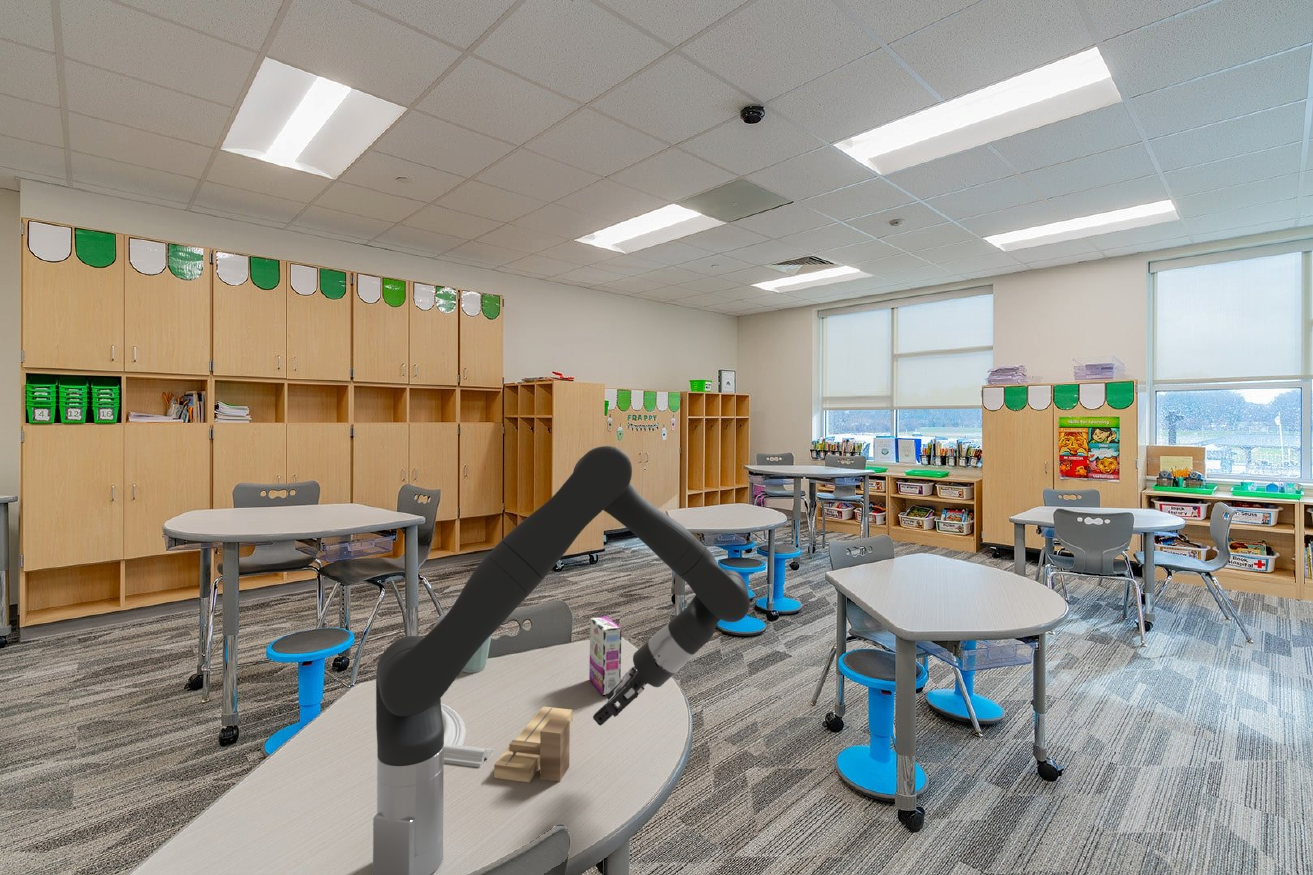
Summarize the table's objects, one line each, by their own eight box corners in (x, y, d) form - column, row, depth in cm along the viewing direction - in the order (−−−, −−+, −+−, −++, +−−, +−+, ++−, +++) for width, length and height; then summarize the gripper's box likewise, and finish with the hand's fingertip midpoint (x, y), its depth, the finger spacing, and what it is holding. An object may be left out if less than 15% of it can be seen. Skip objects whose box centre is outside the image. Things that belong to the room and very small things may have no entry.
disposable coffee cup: (481, 658, 169) (481, 605, 169) (501, 668, 162) (502, 614, 162) (446, 668, 161) (446, 613, 161) (466, 680, 154) (466, 622, 154)
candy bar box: (621, 693, 147) (622, 627, 147) (602, 696, 145) (603, 630, 145) (606, 676, 157) (607, 615, 157) (588, 679, 155) (589, 617, 155)
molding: (499, 764, 116) (499, 750, 116) (435, 783, 110) (436, 768, 110) (444, 686, 152) (444, 675, 152) (393, 697, 145) (393, 685, 145)
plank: (529, 782, 109) (529, 768, 109) (494, 777, 111) (494, 763, 111) (572, 720, 133) (572, 709, 133) (543, 717, 134) (543, 706, 134)
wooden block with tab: (560, 781, 110) (560, 733, 110) (505, 774, 112) (505, 727, 112) (569, 766, 115) (569, 720, 115) (516, 759, 117) (516, 714, 117)
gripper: (657, 626, 116) (600, 679, 118) (641, 652, 102) (577, 712, 104) (684, 655, 115) (626, 708, 117) (671, 686, 101) (606, 745, 103)
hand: (603, 710), depth 111 cm, fingers open, 8 cm apart
